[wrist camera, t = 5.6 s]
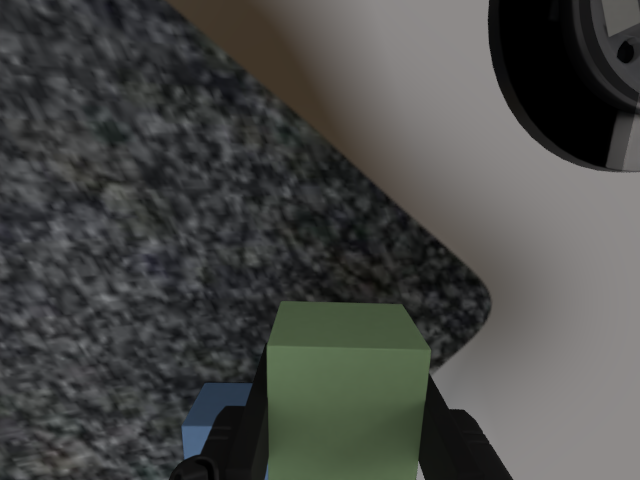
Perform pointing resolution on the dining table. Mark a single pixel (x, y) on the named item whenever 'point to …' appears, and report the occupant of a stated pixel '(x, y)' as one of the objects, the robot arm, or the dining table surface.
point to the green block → (345, 392)
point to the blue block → (210, 413)
